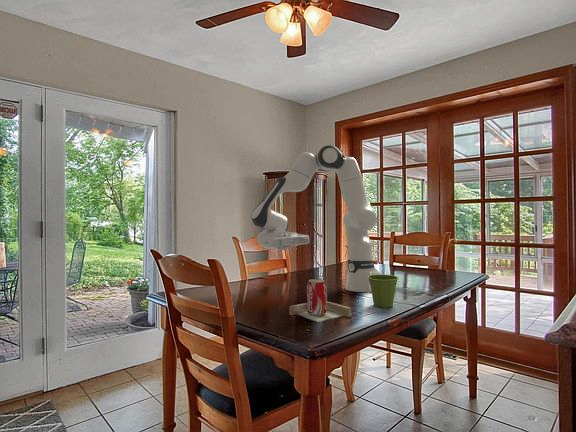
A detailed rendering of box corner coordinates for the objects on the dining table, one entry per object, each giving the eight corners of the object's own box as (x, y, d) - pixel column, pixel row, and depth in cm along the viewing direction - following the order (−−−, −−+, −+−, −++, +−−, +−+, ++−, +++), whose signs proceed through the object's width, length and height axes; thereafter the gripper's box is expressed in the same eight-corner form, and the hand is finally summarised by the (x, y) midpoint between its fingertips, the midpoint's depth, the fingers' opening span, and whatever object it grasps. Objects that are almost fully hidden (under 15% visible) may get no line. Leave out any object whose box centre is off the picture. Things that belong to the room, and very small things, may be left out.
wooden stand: (322, 307, 136) (322, 299, 136) (351, 316, 124) (351, 307, 124) (289, 314, 127) (289, 306, 127) (317, 324, 115) (317, 315, 115)
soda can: (324, 317, 121) (324, 282, 122) (305, 316, 124) (304, 281, 124) (328, 312, 128) (328, 279, 128) (309, 310, 130) (309, 278, 130)
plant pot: (361, 305, 139) (360, 276, 139) (381, 300, 146) (380, 273, 146) (385, 311, 130) (385, 280, 130) (405, 306, 137) (405, 277, 137)
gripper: (260, 235, 155) (278, 235, 144) (297, 232, 167) (316, 232, 156) (261, 249, 155) (279, 251, 144) (298, 245, 167) (317, 246, 156)
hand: (299, 241), depth 150 cm, fingers open, 8 cm apart
